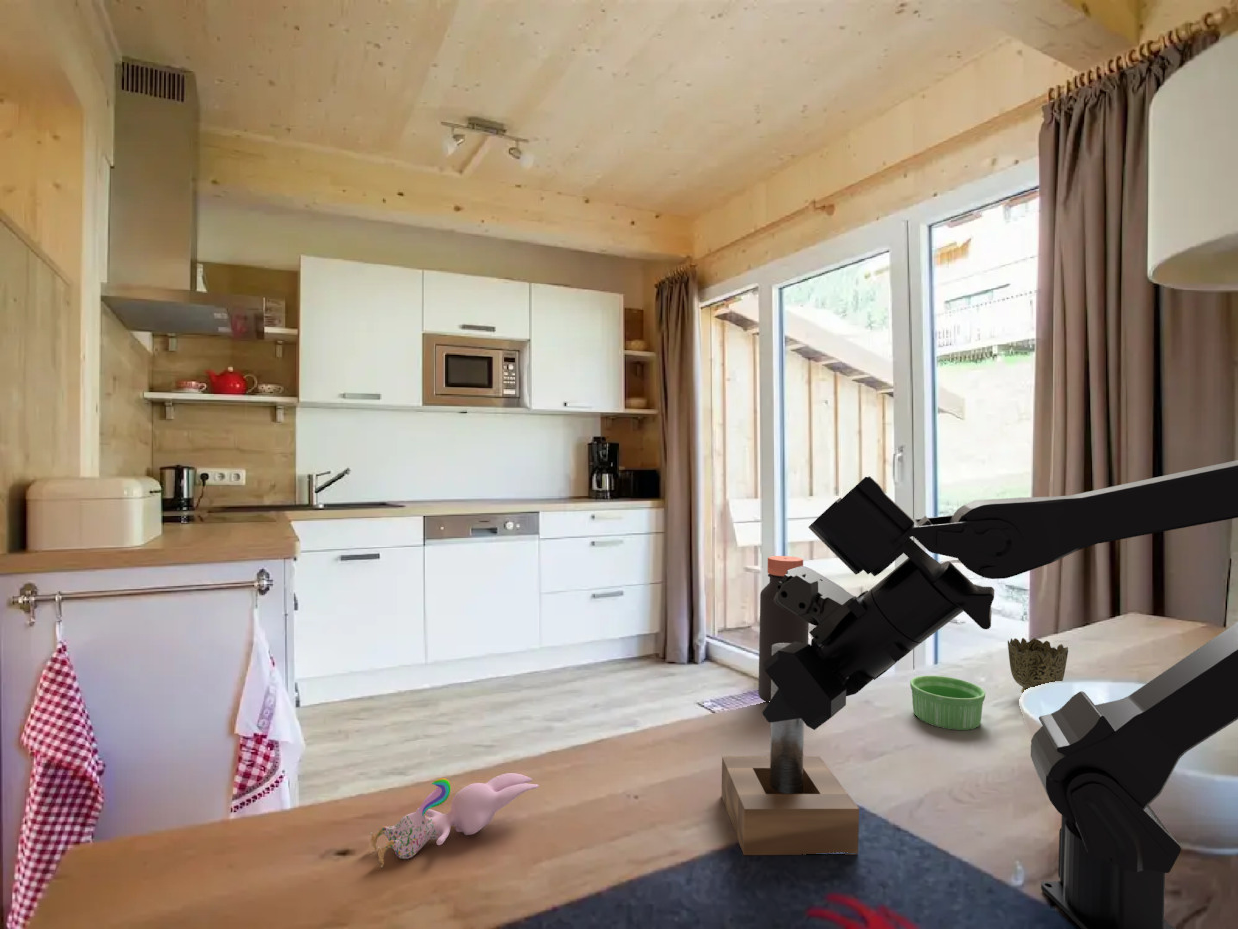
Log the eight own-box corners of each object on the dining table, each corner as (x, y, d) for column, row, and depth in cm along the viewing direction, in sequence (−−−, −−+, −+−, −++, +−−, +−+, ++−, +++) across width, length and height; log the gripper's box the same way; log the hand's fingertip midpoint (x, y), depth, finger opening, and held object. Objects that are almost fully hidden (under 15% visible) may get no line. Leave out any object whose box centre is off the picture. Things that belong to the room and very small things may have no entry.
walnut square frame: (858, 854, 58) (859, 808, 58) (743, 855, 57) (744, 809, 57) (819, 795, 68) (819, 756, 68) (721, 795, 67) (722, 756, 67)
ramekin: (894, 709, 92) (895, 677, 92) (949, 704, 94) (950, 673, 94) (942, 736, 83) (943, 701, 83) (1001, 729, 86) (1002, 695, 85)
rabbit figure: (388, 896, 54) (552, 813, 62) (377, 827, 53) (544, 753, 61) (369, 856, 59) (523, 785, 67) (359, 793, 58) (515, 729, 66)
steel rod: (807, 793, 61) (809, 652, 61) (774, 793, 61) (776, 652, 61) (797, 777, 64) (799, 643, 64) (766, 778, 64) (768, 642, 64)
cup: (994, 693, 99) (995, 639, 98) (1030, 687, 101) (1031, 635, 101) (1042, 711, 92) (1043, 653, 91) (1079, 705, 94) (1080, 649, 94)
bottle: (817, 702, 94) (820, 560, 93) (780, 710, 90) (783, 563, 90) (784, 687, 100) (787, 553, 99) (748, 694, 96) (751, 556, 96)
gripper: (865, 532, 67) (762, 623, 74) (789, 552, 52) (669, 664, 59) (949, 623, 62) (831, 711, 69) (891, 672, 48) (749, 779, 55)
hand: (773, 712), depth 63 cm, fingers closed on steel rod, 3 cm apart
